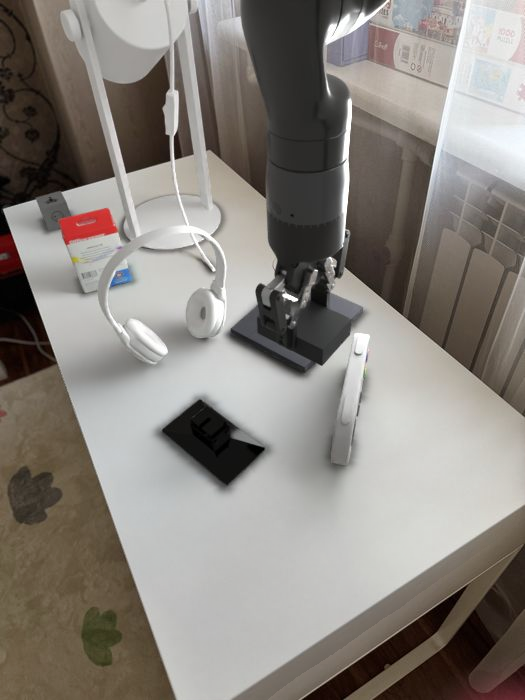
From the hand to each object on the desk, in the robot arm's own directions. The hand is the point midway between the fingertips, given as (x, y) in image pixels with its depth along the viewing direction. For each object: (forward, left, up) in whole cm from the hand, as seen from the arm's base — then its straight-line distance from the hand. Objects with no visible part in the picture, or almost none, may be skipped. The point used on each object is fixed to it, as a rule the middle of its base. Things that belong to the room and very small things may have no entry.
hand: (303, 328), depth 62 cm
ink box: (+44, -3, -15) cm, 47 cm away
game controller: (-6, -3, -15) cm, 16 cm away
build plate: (+7, +11, -15) cm, 20 cm away
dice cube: (+67, -10, -15) cm, 70 cm away
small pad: (0, 0, -1) cm, 1 cm away
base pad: (+10, -13, -15) cm, 23 cm away
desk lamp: (+45, -22, -15) cm, 52 cm away
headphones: (+22, +1, -15) cm, 27 cm away
